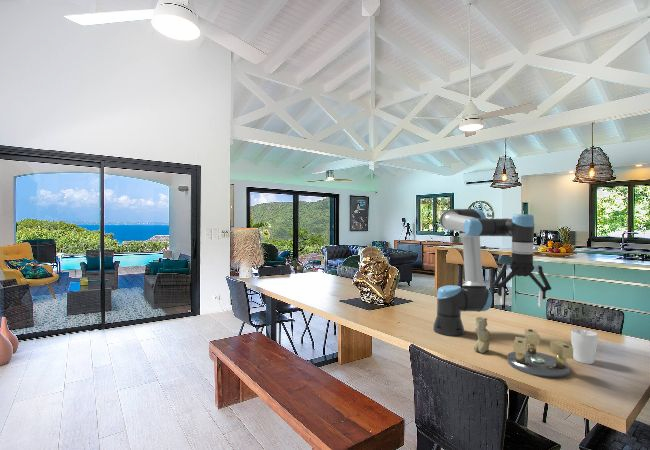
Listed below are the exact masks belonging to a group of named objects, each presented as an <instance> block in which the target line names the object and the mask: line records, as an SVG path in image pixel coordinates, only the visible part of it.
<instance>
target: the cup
mask: <svg viewBox="0 0 650 450" xmlns="http://www.w3.org/2000/svg"><path fill="white" fill-rule="evenodd" d="M598 336H599V335H598V333H597V332H595V331H593V330H589V329H582V328H572V329H571V331H570V342H571V347H573V360H574V361H576V362H578V363H580V364H587V365H591V364H594V363H595V358H596V353H597V347H598V344H599V343H598V342H599V339H598Z"/></svg>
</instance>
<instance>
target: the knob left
mask: <svg viewBox="0 0 650 450" xmlns="http://www.w3.org/2000/svg"><path fill="white" fill-rule="evenodd" d="M527 345H528V342H527V338H525V337H520V336H515V337H514V341H513V352H516V362H517V363H520V364H524V363H525V354H526V351H527Z"/></svg>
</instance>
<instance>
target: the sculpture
mask: <svg viewBox="0 0 650 450" xmlns="http://www.w3.org/2000/svg"><path fill="white" fill-rule="evenodd" d="M475 321H476V322H475V326H476V327H475V329H474V331H475V333H476V335H477V339H476V341H475V343H474V345H473V350H474V351H475V352H479V353H481V354H482V353H483V354H484V353H485V352H489V350H490V344H491V343H490V336H491V333H490V331H489V330H488V329H487V326H488V322H487V321H488V318H486V317H482V316H478V317H476V318H475Z"/></svg>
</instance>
